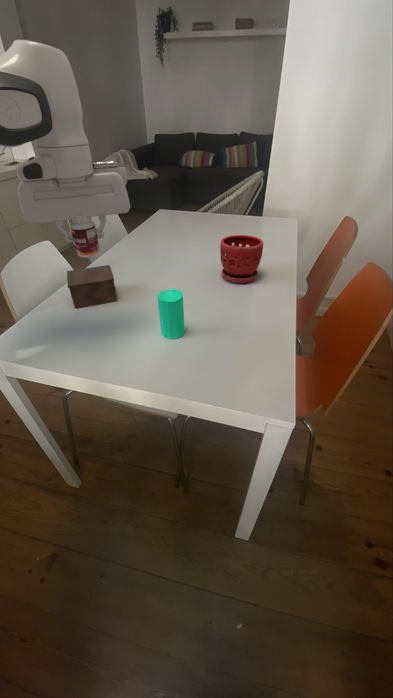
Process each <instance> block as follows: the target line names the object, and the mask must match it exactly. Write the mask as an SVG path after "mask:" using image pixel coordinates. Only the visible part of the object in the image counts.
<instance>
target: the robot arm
mask: <svg viewBox="0 0 393 698" xmlns="http://www.w3.org/2000/svg"><path fill="white" fill-rule="evenodd" d="M76 81H77V80H76V77H75V75H74V71H73V68H72V65H71V63H70V61H69V59H68V57H67V55H66V53H65V52H64V51H62V49H60V48H59V47H57V46H56V45H54V44H52V43H49V42H47V41H43V40H40V39H35V38H33V39H32V38H28V37H22V38H17V39H14V41H13V42H12V44H11V45H10V46H9V48H7V50H5V52H4V53H2V54H0V147H3V148H17V147H21V146H22V145H25V144H27V143H31V142H33V141H34V142H35V145H36V149H37V152H38V154H37V155H35V156H31V157H29V158H28V159H25V160H23V161H21V162H20V163H18V164H17V165H16V166H15V174H16V177H17V178H18V180H20V182H19V184H18V185H17V199H18V203H19V207H20V211H21V214H22V217H23V220H25V221H26V222H27V223H28V224H38V223H48V222H54V223H55V226H56V228H57V229H58V230H59V231H60V232H61V233H62V234H63V235H64V238H65V241H66V243H72V242H74V238H73V234H72V231H71V230H68V229H67V228H66V227H65V226H64V221H65V220H70V219H74V218H75V216H81V215H85V216H86V217H91V218H93V217H98V221H99V222H100V223H99V226H98V227H95V229H96V234H97V239H98V240H99V239H104V238H105V234H104V229H105V226H106V223H107V216H113V215H121V214H127V213H128V212H129V211H130V209H131V202H130V198H129V194H128V191H127V188H126V185H127V183H128V174H127V169H126V167H125V166H124V165H123V164H122V163H120V162H118V161H117V160H109V161H103V160H101V161H93V158H92V154H91V153H92V152H91V148H90V143H89V140H88V137H87V135H86V132H85V130H84V120H83V119H84V113H83V108H82V102H81V98H80V93H79V90H78V85H77V82H76ZM74 243H75V242H74Z"/></svg>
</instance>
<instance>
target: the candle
mask: <svg viewBox="0 0 393 698" xmlns="http://www.w3.org/2000/svg"><path fill="white" fill-rule="evenodd" d="M157 305H158V314H159V323H160V325H159V326H160V334H161V336H162V337H163V338H165V339H169V340H174V339H175V340H176V339H179V338H181V337H183V336H184V334H185V333H186V331H185V329H186V328H185V312H184V309H185V308H184V295H183V291H181V290H180V289H178V288H177V289H176V288H169V289H167V290H162V291H160V292H159V293H158V294H157Z"/></svg>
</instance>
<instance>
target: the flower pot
mask: <svg viewBox="0 0 393 698" xmlns="http://www.w3.org/2000/svg"><path fill="white" fill-rule="evenodd" d="M219 244H220V247H219V248H220V263H221V266H222V270H221V276H222V277H223V278H224V279H225V280H227V281H228V282H231V283H237V284H238V283H239V284H243V283H248V282H252V281H253V280H255V279H256V278H257V277H258V273H259V271H258V268H259V266H260V263H261V260H262V257H263V250H264V241H263V240H262V239H261V238H260V237H257V236H253V235H249V234H248V235H247V234H236V235H235V234H234V235H228V236H225V237H223V238H221V239H220V243H219Z"/></svg>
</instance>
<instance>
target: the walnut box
mask: <svg viewBox="0 0 393 698" xmlns="http://www.w3.org/2000/svg"><path fill="white" fill-rule="evenodd" d="M66 278H67V280H66V281H67V288H68V289H69V292H70V296H71V299H72V303H73V306H74V309H80V308H86V307H92V306H97V305H103V304H108V303H115V302H118V296H117V291H116V285H115V278H114V274H113V271H112V268H111V265H110V264H106V265H100V266H92V267H86V268H85V267H84V268H79V269H73V270H72V269H71V270H67V271H66Z"/></svg>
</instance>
